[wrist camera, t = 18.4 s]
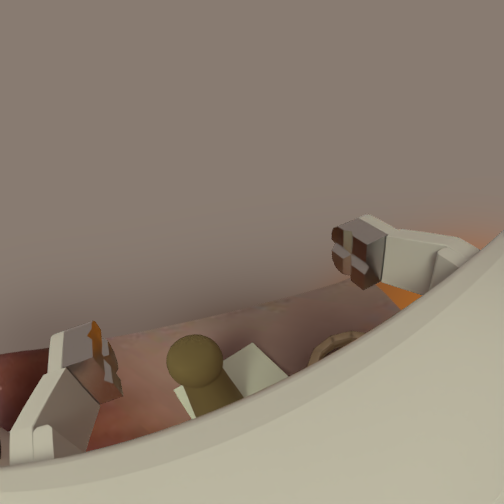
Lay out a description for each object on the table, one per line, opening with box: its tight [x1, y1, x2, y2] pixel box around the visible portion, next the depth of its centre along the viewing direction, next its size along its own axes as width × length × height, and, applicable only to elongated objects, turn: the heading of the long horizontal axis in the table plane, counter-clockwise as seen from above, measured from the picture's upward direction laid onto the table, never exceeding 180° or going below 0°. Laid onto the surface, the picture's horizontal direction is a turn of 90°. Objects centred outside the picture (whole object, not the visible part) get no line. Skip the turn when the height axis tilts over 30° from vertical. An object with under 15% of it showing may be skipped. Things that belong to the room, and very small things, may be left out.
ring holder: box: [307, 331, 366, 367], centre depth 33 cm, size 10×10×2 cm
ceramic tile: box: [174, 342, 289, 419], centre depth 32 cm, size 12×12×1 cm
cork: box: [166, 334, 244, 418], centre depth 28 cm, size 6×6×11 cm
